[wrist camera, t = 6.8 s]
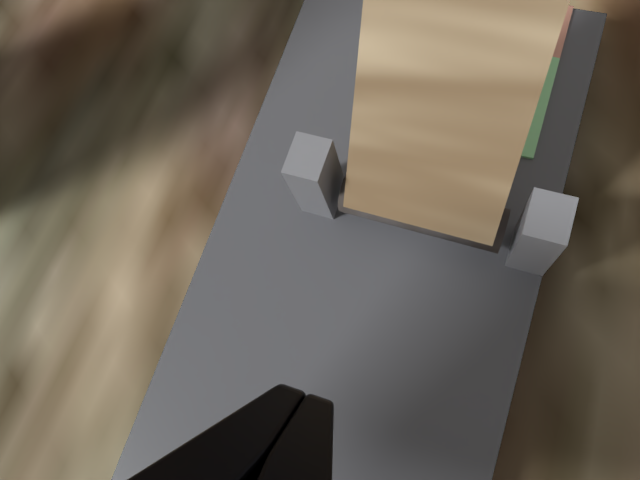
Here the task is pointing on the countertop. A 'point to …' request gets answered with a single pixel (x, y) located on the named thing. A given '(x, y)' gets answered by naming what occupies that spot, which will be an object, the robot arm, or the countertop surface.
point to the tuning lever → (445, 112)
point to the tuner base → (364, 280)
